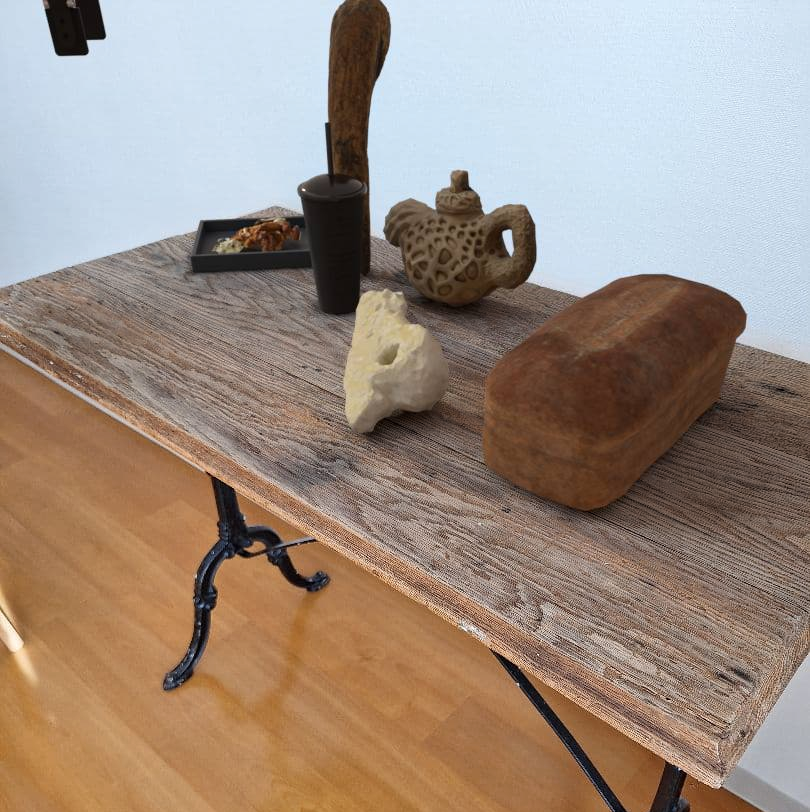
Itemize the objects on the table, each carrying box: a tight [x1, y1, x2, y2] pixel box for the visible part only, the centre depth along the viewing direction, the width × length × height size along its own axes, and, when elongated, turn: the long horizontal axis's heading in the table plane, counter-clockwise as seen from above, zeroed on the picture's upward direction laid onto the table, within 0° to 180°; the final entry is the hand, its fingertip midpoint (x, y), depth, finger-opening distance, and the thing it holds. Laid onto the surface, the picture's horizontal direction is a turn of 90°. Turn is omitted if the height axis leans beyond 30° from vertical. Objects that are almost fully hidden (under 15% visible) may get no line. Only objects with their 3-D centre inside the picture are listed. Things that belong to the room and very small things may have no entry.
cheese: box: [342, 287, 450, 434], centre depth 78 cm, size 15×7×15 cm
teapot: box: [382, 169, 538, 308], centre depth 93 cm, size 21×12×15 cm, turn 49°
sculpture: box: [327, 0, 392, 277], centre depth 96 cm, size 7×7×30 cm
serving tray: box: [190, 215, 313, 273], centre depth 111 cm, size 17×14×2 cm
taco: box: [213, 215, 302, 254], centre depth 110 cm, size 7×12×4 cm, turn 129°
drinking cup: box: [296, 121, 367, 315], centre depth 91 cm, size 8×8×20 cm
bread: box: [481, 273, 748, 512], centre depth 71 cm, size 14×28×12 cm, turn 141°
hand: (82, 47), depth 85 cm, fingers open, 9 cm apart
